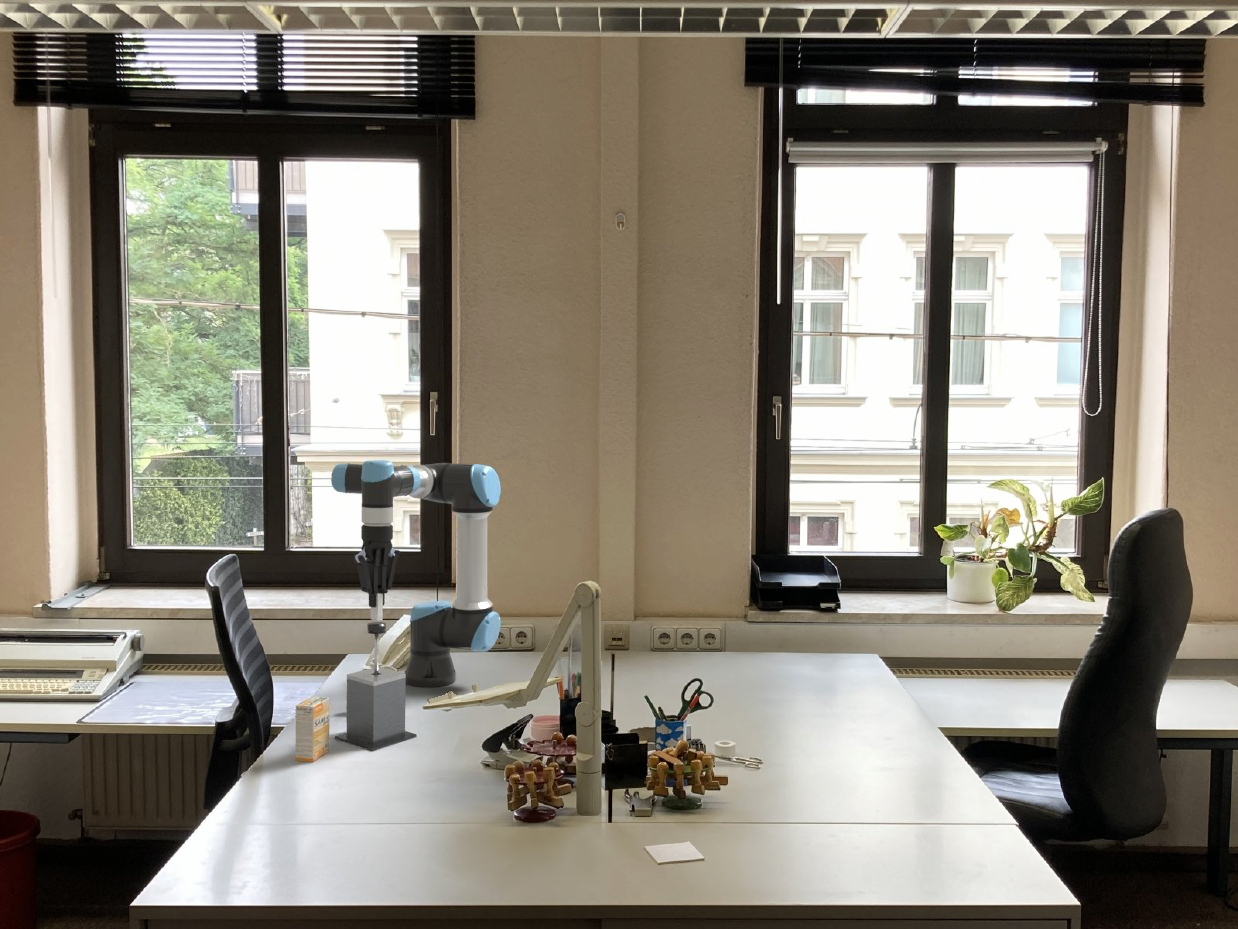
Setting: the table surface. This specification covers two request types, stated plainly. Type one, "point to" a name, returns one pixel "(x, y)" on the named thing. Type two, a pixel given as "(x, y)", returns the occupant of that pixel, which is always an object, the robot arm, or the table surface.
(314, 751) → the supplement box
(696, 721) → the table surface
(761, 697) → the table surface
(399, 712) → the block
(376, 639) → the plunger
